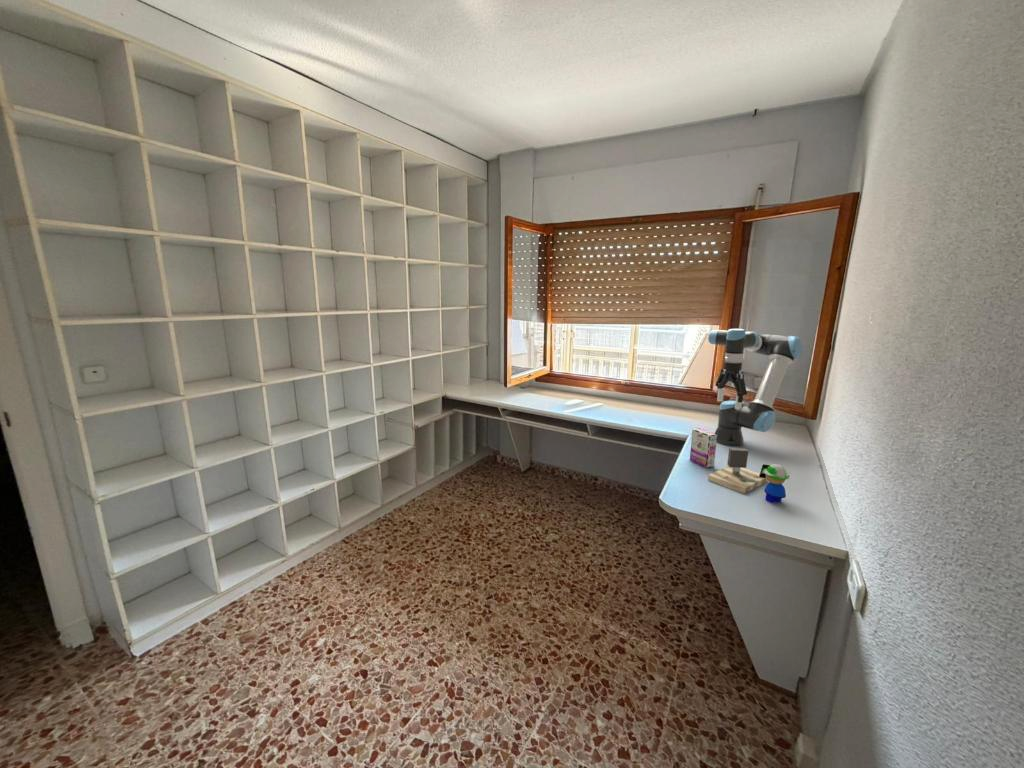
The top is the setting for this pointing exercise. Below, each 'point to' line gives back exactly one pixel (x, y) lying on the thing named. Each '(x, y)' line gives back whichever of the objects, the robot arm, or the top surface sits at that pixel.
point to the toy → (774, 482)
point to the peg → (737, 460)
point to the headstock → (737, 479)
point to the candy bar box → (703, 447)
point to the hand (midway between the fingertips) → (728, 404)
